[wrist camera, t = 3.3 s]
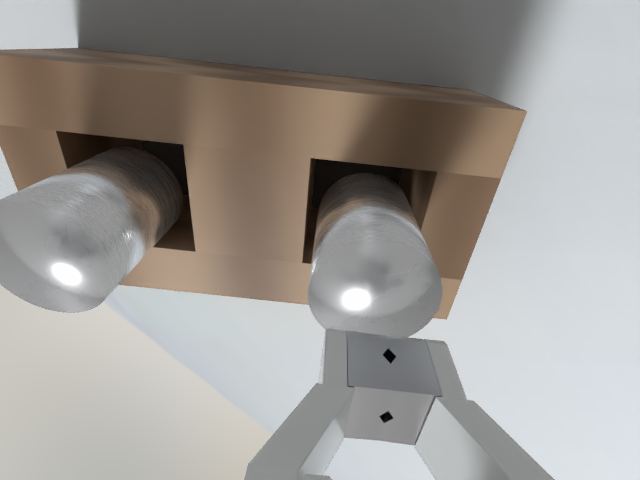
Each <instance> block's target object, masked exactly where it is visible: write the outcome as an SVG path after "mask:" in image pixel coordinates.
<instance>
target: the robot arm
mask: <svg viewBox="0 0 640 480" xmlns="http://www.w3.org/2000/svg"><path fill="white" fill-rule="evenodd" d="M344 438H356V439H369V440H380V441H387V442H394V443H401V444H408V445H415V449H416V450H417V452H418V453H419V455H420V457H421V458H422V460H423V461H424V463H425V464H426V466H427V467H428V469H429V470H430V472H431V474H432V475H433V477H434V478H435V480H554V479H553V478H552V477H551V476H550V475H549V474H548V473H547V472H546V471H545V470H544V469H543V468H542V467H541V466H540V465H539V464H538V463H537V462H536V461H535V460H534V459H533V458H532V457H531V456H530V455H529V454H528V453H527V452H526V451H525V450H524V449H523V448H522V447H520V446H519V445H518V444H517V443H516V442H515V441H514V440H513V439H512V438H511V437H510V436H509V435H508V434H507V433H506V432H505V431H504V430H503V429H502V428H501V427H500V426H499V425H498V424H497V423H496V422H495V421H494V420H493V419H492V418H491V417H490V416H489V415H488V414H487V413H486V412H485V411H484V410H483V409H482V408H481V407H480V406H479V405H478V404H476V403H475V402H474V401H471V400H467V398H466V395H465V392H464V390H463V387H462V384H461V381H460V379H459V376H458V373H457V370H456V368H455V365H454V362H453V359H452V357H451V354H450V351H449V348H448V346H447V344H446V343H445V342H444V341H437V340H427V339H424V340H423V339H416V338H406V337H396V336H387V335H377V334H369V333H362V332H355V331H347V330H346V331H344V330H337V329H330V328H326V330H325V337H324V344H323V350H322V357H321V365H320V374H319V383H316V385H315V386H314V387H313V388H312V389H311V390H310V392H309V393H308V394H307V395H306V396H305V398H304V399H303V400H302V401H301V402H300V404H299V405H298V406H297V407H296V408H295V409H294V411H293V412H292V413H291V414H290V415H289V417H288V418H287V419H286V420H285V421H284V422H283V424H282V425H281V426H280V427H279V428H278V430H277V431H276V432H275V433H274V434H273V436H272V437H271V438H270V439H269V440H268V441H267V443H266V444H265V445H264V446H263V447H262V449H261V450H260V451H259V452H258V453H257V455H256V456H255V457H254V458H253V459H252V461H251V462H250V463H249V464H248V467H247V471H246V475H245V480H332V479H331V478H330V477H329V476H323V474H324V472H325V470H326V469H327V467H328V465H329V464H330V462H331V460H332V458H333V457H334V455H335V453H336V452H337V450H338V448H339V446H340V445H341V443H342V441H343V439H344Z"/></svg>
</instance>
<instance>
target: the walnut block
mask: <svg viewBox="0 0 640 480" xmlns="http://www.w3.org/2000/svg"><path fill="white" fill-rule="evenodd" d="M526 113H527V111H525V110H522V109H520V108H517V107H514V106H511V105H509V104H506V103H503V102H501V101H498V100H495V99H492V98H490V97H487V96H484V95H482V94H479V93H476V92H474V91H471V90H462V89H453V88H444V87H435V86H425V85H416V84H407V83H397V82H388V81H379V80H369V79H360V78H351V77H342V76H332V75H323V74H314V73H304V72H295V71H286V70H276V69H267V68H258V67H248V66H239V65H230V64H221V63H211V62H202V61H193V60H183V59H174V58H165V57H155V56H146V55H137V54H128V53H118V52H109V51H100V50H90V49H81V48H61V49H17V50H0V146H1V149H2V151H3V154H4V156H5V159H6V161H7V164H8V167H9V169H10V172H11V174H12V177H13V179H14V182H15V184H16V187H17V189H18V191H21V190H23V189H25V188H27V187H29V186H31V185H33V184H36V183H38V182H40V181H42V180H44V179H46V178H49V177H51V176H53V175H55V174H57V173H59V172H62V171H64V170H66V169H68V168H70V167H72V166H74V165H77V164H79V163H81V162H83V161H85V160H87V159H90V158H92V157H94V156H96V155H98V154H100V153H102V152H105V151H107V150H109V149H112V148H116V147H133V148H137V149H141V150H143V151H144V148H143V142H142V140H146V141H156V142H165V143H174V144H183V147H184V156H185V164H186V173H187V182H188V190H189V195H183V209H182V213H181V215H180V217H179V218H178V220H177V221H176V222H175V223H174V224H173V225H172V227H171V228H170V229H169V230H168V231H167V232H166V233H165V234H164V235H163V236H162V237H161V239H160V240H159V241H158V242H157V243H156V244H155V245H154V246H153V247H152V248H151V250H150V251H149V252H148V253H147V254H146V255H145V256H144V257H143V258H142V259H141V260H140V262H139V263H138V264H137V265H136V266H135V267H134V268H133V269H132V270H131V271H130V272H129V274H128V275H127V276H126V277H125V278H124V279H123V280H122V281H121V282H120V283H119V284H118V285H127V286H136V287H146V288H155V289H165V290H174V291H184V292H193V293H203V294H212V295H222V296H231V297H240V298H250V299H259V300H269V301H278V302H288V303H297V304H307V305H309V302H308V286H309V278H310V271H311V263H312V255H313V248H314V240H315V232H316V224H317V217H318V210H319V209H313V208H312V198H313V187H314V176H315V164H316V159H324V160H333V161H343V162H352V163H362V164H371V165H380V166H390V167H399V168H403V169H402V174H401V178H400V182H399V187H400V188H401V189H402V191H403V192H404V194H405V196H406V198H407V200H408V203H409V205H410V207H411V210H412V212H413V214H414V217H415V219H416V221H417V224H418V226H419V228H420V231H421V233H422V235H423V238H424V240H425V242H426V245H427V247H428V249H429V252H430V254H431V257H432V259H433V261H434V264H435V266H436V268H437V271H438V273H439V275H440V278H441V282H442V290H443V292H442V299H441V303H440V306H439V308H438V310H437V312H436V314H435V315H434V317H433V318H439V319H447V317H448V315H449V312H450V309H451V307H452V304H453V302H454V299H455V296H456V294H457V291H458V289H459V286H460V283H461V281H462V278H463V276H464V273H465V271H466V268H467V265H468V263H469V260H470V258H471V255H472V252H473V250H474V247H475V245H476V242H477V240H478V237H479V234H480V232H481V229H482V227H483V224H484V221H485V219H486V216H487V214H488V211H489V209H490V206H491V203H492V201H493V198H494V196H495V193H496V190H497V188H498V185H499V183H500V180H501V177H502V175H503V172H504V170H505V167H506V165H507V162H508V159H509V157H510V154H511V152H512V149H513V146H514V144H515V141H516V139H517V136H518V134H519V131H520V128H521V126H522V123H523V121H524V118H525V115H526Z"/></svg>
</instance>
